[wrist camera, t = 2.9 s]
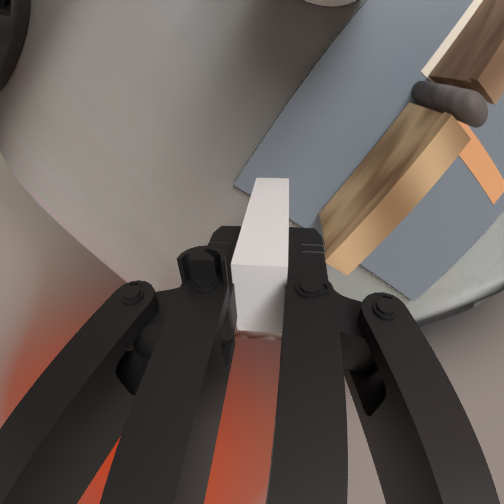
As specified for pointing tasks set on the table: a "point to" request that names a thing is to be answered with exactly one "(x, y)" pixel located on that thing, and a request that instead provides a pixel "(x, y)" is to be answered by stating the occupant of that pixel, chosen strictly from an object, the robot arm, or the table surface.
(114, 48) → the table surface
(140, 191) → the table surface
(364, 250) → the wooden board
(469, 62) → the base
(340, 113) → the card
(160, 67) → the table surface
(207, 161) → the table surface
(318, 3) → the mug
